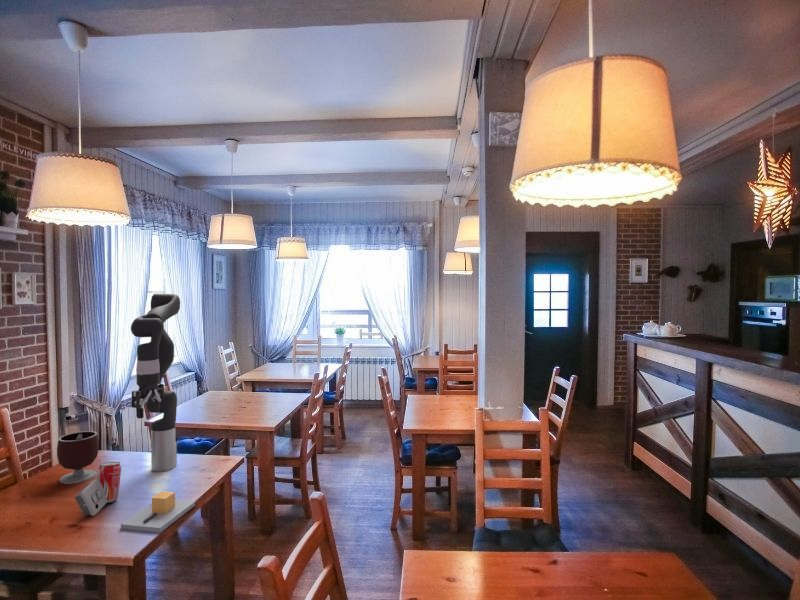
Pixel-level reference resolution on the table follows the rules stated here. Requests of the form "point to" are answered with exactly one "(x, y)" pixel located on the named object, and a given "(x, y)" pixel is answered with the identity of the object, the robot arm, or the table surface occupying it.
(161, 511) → the orange toy cube
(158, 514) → the grey slider board
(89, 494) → the electrical switch
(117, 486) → the soda can
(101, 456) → the table surface
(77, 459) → the mate gourd
